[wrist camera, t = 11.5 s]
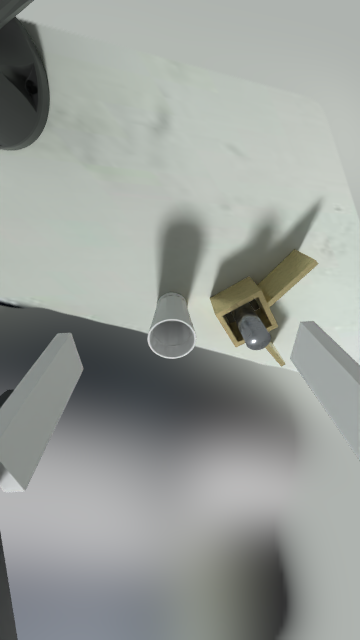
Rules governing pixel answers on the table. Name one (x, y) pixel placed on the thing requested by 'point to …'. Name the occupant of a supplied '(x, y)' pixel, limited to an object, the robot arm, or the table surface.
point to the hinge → (262, 296)
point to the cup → (171, 327)
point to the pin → (251, 327)
